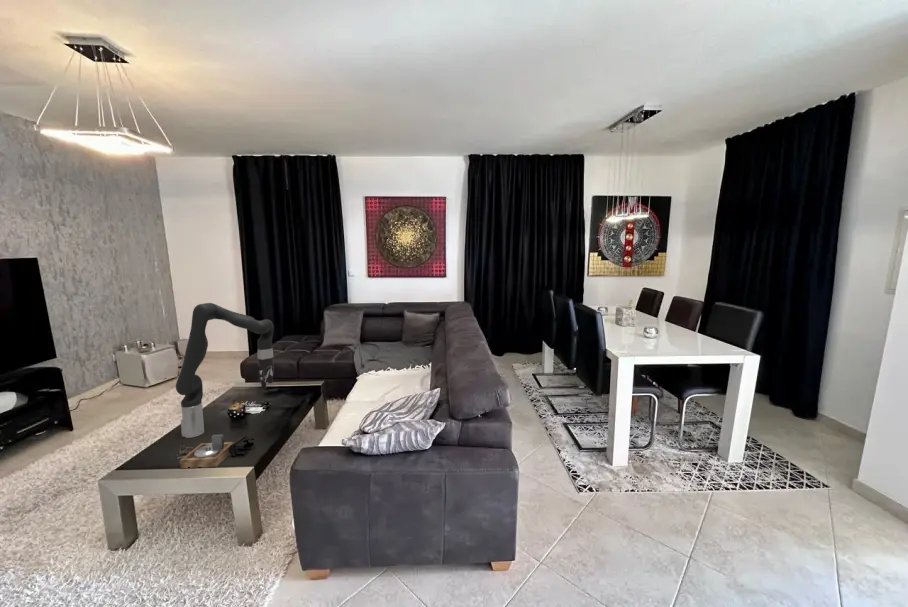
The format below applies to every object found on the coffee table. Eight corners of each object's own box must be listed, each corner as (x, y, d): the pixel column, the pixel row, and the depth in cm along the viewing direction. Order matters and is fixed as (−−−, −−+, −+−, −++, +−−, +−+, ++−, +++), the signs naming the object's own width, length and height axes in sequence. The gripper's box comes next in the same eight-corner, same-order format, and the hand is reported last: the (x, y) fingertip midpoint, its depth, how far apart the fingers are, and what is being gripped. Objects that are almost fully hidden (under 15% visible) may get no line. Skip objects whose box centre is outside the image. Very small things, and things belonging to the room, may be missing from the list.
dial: (189, 460, 173) (187, 441, 172) (203, 448, 184) (202, 431, 183) (217, 458, 174) (215, 440, 173) (229, 447, 185) (228, 430, 184)
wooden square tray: (180, 468, 171) (180, 459, 170) (201, 450, 187) (201, 442, 186) (216, 466, 172) (216, 458, 171) (234, 449, 188) (234, 441, 187)
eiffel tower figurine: (181, 464, 175) (178, 438, 173) (161, 464, 176) (158, 437, 174) (205, 448, 190) (203, 424, 188) (186, 448, 191) (184, 423, 189)
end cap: (241, 447, 190) (240, 434, 190) (255, 447, 190) (254, 434, 189) (229, 457, 180) (228, 444, 180) (243, 457, 180) (242, 444, 179)
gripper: (263, 353, 206) (265, 381, 207) (252, 360, 191) (254, 390, 193) (277, 353, 206) (279, 381, 208) (267, 360, 192) (269, 390, 194)
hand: (267, 385), depth 201 cm, fingers open, 8 cm apart
